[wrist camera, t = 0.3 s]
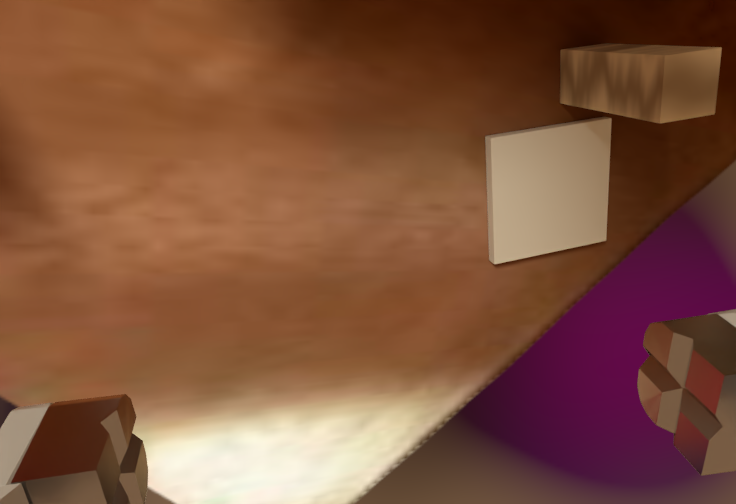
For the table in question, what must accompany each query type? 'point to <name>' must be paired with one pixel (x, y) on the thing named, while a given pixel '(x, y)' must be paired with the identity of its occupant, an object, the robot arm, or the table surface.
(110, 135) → the table surface
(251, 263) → the table surface
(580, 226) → the board
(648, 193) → the table surface
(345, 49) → the table surface
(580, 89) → the beech block
